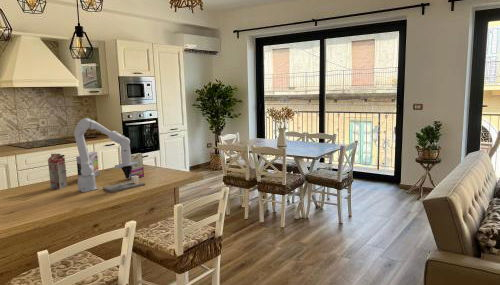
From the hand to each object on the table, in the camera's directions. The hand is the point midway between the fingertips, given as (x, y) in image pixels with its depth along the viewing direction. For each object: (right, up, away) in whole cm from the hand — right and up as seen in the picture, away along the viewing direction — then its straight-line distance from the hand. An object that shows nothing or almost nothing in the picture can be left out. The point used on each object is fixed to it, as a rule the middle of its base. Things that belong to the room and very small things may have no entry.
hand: (127, 177), depth 226 cm
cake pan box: (-35, -3, +23) cm, 42 cm away
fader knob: (+4, -3, +4) cm, 7 cm away
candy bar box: (-3, -2, +24) cm, 24 cm away
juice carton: (-44, -7, +2) cm, 44 cm away
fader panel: (-2, -6, -1) cm, 6 cm away
